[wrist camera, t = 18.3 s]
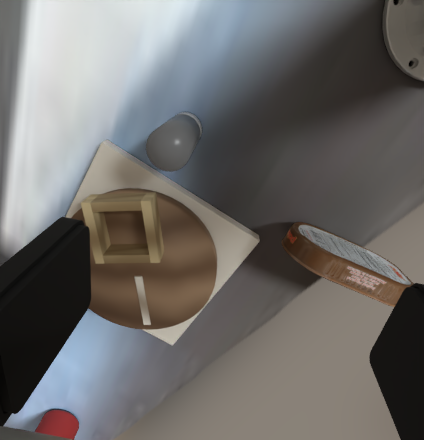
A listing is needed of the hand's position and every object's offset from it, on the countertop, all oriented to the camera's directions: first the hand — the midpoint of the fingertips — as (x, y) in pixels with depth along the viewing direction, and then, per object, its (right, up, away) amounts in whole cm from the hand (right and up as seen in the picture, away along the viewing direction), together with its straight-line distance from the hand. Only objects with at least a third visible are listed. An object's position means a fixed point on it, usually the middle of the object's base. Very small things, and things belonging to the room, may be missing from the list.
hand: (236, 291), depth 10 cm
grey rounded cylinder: (-4, +12, +25) cm, 28 cm away
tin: (+15, -1, +30) cm, 33 cm away
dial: (-10, -3, +30) cm, 32 cm away
